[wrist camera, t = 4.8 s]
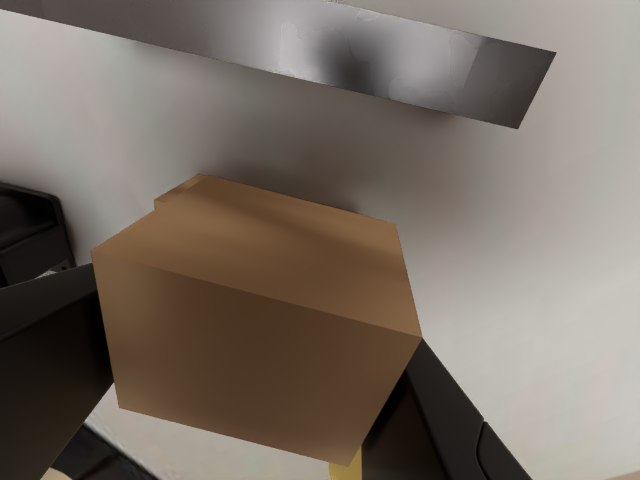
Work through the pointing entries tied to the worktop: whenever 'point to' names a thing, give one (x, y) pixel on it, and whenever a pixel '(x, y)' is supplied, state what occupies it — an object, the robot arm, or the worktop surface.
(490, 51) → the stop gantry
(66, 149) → the worktop surface
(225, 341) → the block
